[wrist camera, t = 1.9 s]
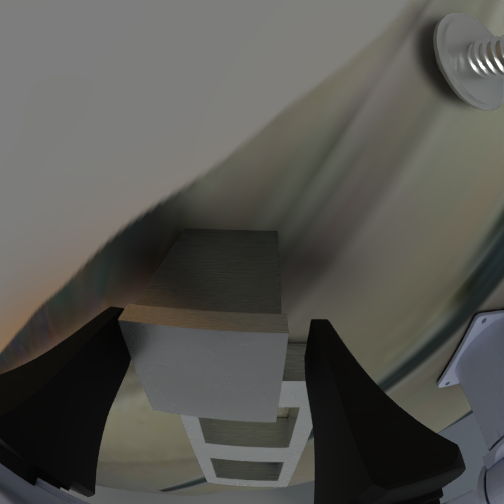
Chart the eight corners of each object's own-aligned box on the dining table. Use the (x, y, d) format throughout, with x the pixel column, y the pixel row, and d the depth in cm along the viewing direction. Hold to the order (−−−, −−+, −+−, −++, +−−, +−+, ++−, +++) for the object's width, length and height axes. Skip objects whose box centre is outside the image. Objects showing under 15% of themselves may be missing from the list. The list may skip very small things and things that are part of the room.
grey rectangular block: (280, 228, 14) (288, 333, 7) (275, 309, 16) (275, 422, 9) (181, 226, 14) (117, 320, 7) (190, 305, 16) (153, 409, 10)
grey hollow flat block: (322, 343, 17) (329, 380, 14) (286, 465, 27) (286, 486, 24) (178, 336, 17) (165, 371, 14) (211, 461, 27) (207, 482, 24)
